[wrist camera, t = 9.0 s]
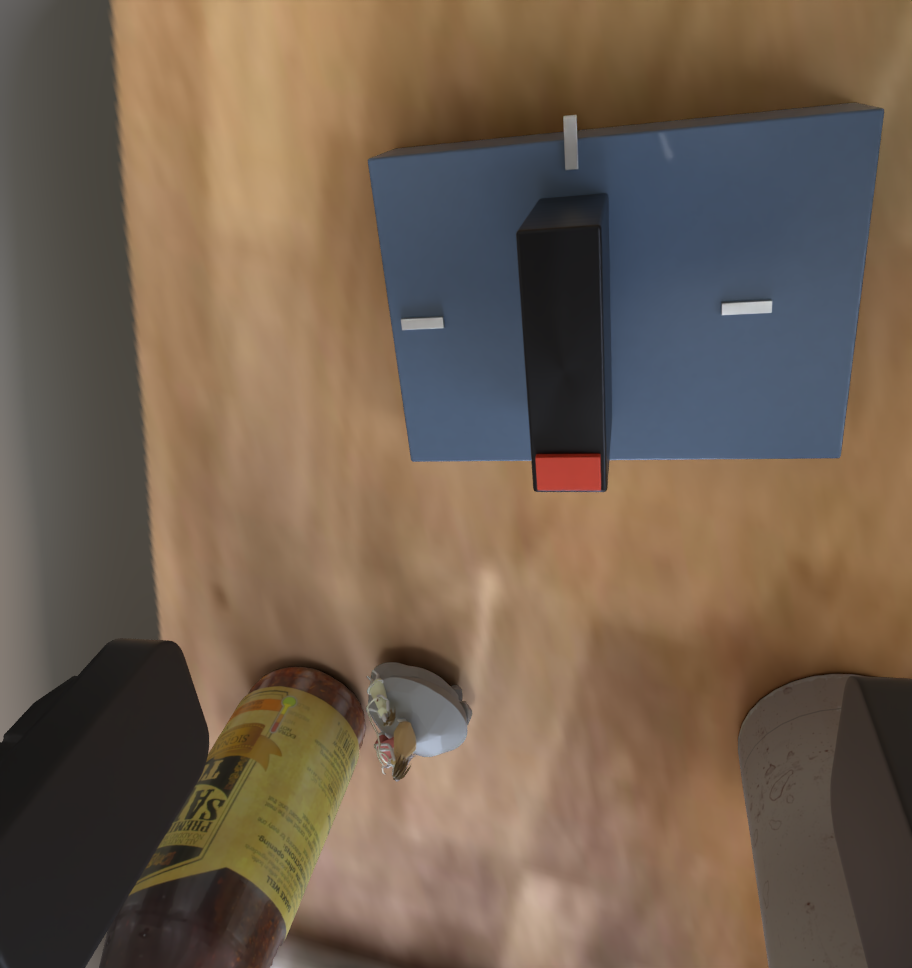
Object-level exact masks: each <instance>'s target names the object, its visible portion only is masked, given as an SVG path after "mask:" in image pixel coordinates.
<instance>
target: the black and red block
mask: <svg viewBox="0 0 912 968" xmlns="http://www.w3.org/2000/svg"><path fill="white" fill-rule="evenodd" d="M516 242H517V257H518V272H519V286H520V301H521V315H522V330H523V344H524V359H525V373H526V388H527V403H528V417H529V432H530V446H531V461H532V475H533V489H534V491H536V492H605V491H606V490H607V485H608V471H609V457H610V443H611V429H612V375H611V316H610V257H609V199H608V194H606V193H603V194H590V195H578V196H566V197H554V198H541V199H539V200H538V202H537V203H536V204H535V206H534V207H533V209H532V210H531V212H530V213H529V215H528V216H527V217H526V219H525V220H524V222H523V223H522V225H521V226H520V228H519V229H518V230H517V233H516Z"/></svg>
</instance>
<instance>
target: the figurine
mask: <svg viewBox="0 0 912 968" xmlns="http://www.w3.org/2000/svg"><path fill="white" fill-rule="evenodd" d="M367 678H368V679H369V680H370V681H371V683H370V686H369V688H368V689H367V693H368V694H369V700H368V705H367V708H366V709H367V710H366V712H368V716H369V719H370V722H371V724H372V726H373V728H374V730H375V732H376V734H377V740H376V742H375V744H374V748H375V749H376V751H377V756H378V759H379V761H380V763H381V764H382V765H383V766H382V772H383V767H384V768H389V767H391V766H392V767H393V769H392V776H393V779H394V780H395V781H399V780H400V779H402V778H404V776H405V775H406V773H407V772H408V771H409V769H410V767H409V768H408V767H406V766H407V765H408V764H409V762H410V761H411V759H413V758H412V757H415V756H413V755H414V754H416V755H419V756H423V757H431V756H435V755H439V754H442V753H445V752H448V751H451V750H454V749H456V748H457V747H459V746H460V745H461V744H462V743H463V742H464V740H465V738H466V736H467V725H468V723H469V721H470V719H471V716H472V710H471V708H470V707H469V705H468V704H467V703H466V701H462V689H461V688H460V687H459V686H458V685H452V686H449V685H448V684H447V683H446V682H445V681H444V680H443V679H442V678H441V677H439V676H438V675H436V674H434V673H432V672H430V671H428V670H425V669H423V668H419V667H414V666H407V665H404V664H401V663H396V662H388V663H383V664H380V665H378V666H377V667H376V668H375V669H374V670H372V674H371V677H369V676H367ZM370 715H371V716H370ZM371 717H372V719H373V720H374V722H375V723H376V725H377V726H378V728H379V729H380V730H381V733H378V732H377V730H376V728H375V726H374V724H373V722H372V720H371ZM379 735H380V736H379ZM385 735H386V736H387V737H388V738H390V739H388V738H387V737H386V736H385ZM378 752H379V753H378ZM412 754H413V755H412ZM379 755H380V757H381V758H382V760H383V761H384V762H385V763H387V766H385V765H384V764H383V763H382V762H381V760H380V757H379ZM410 766H411V765H410ZM405 768H406V769H407V768H408V769H407V771H406V772H405V770H406V769H405ZM404 772H405V773H404ZM383 774H386V773H384V772H383ZM403 774H404V775H403Z"/></svg>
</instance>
